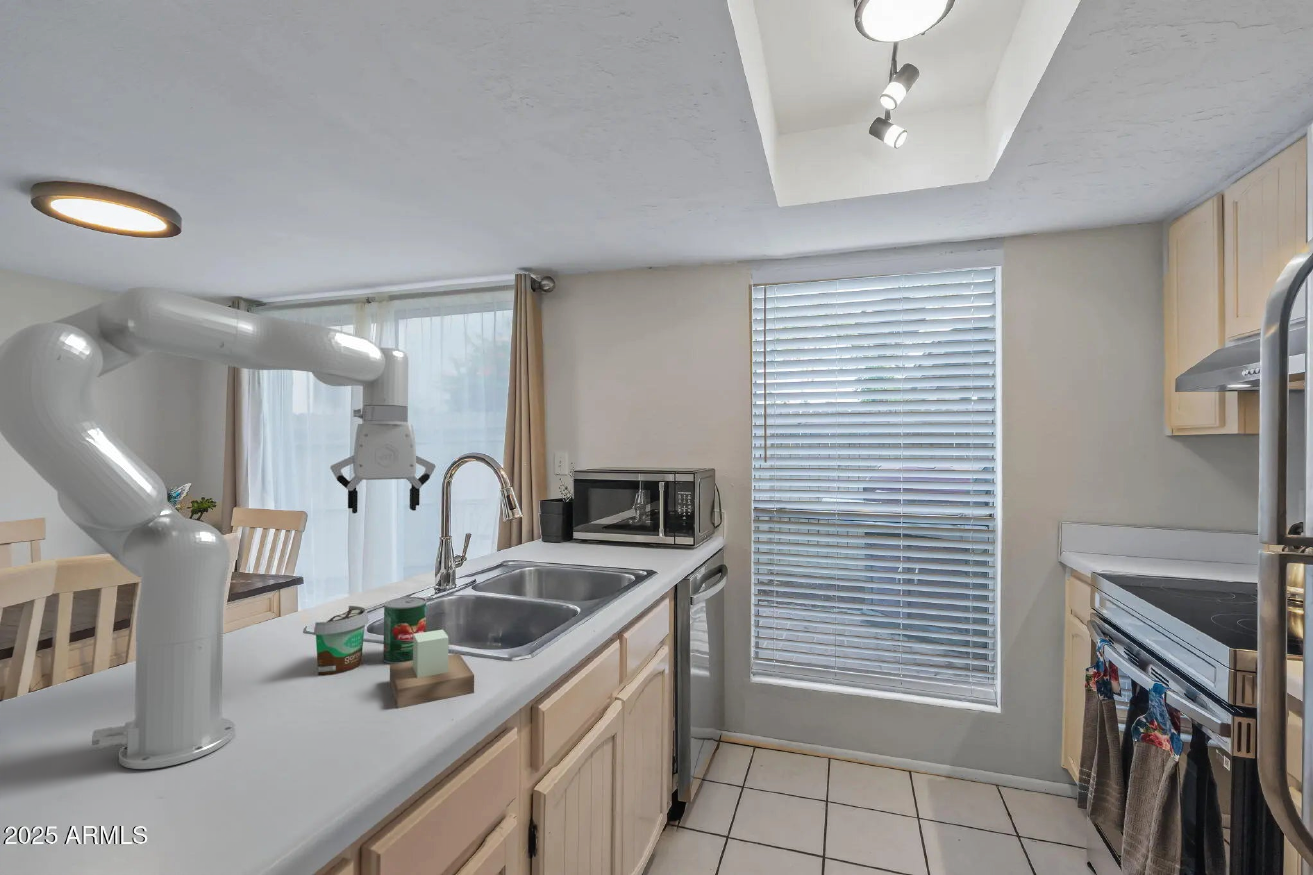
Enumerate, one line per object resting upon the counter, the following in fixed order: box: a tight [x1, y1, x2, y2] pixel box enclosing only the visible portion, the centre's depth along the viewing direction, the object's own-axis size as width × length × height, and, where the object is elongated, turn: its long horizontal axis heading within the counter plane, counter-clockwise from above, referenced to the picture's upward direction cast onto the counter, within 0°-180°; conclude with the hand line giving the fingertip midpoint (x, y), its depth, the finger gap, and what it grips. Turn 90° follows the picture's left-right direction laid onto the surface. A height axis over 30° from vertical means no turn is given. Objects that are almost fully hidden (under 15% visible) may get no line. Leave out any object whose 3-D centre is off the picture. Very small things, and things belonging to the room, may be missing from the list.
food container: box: [313, 605, 370, 677], centre depth 113 cm, size 12×6×10 cm, turn 179°
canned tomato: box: [382, 596, 427, 665], centre depth 118 cm, size 8×8×11 cm
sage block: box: [413, 629, 450, 678], centre depth 103 cm, size 5×5×6 cm
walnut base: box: [389, 653, 475, 709], centre depth 103 cm, size 12×12×3 cm
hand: (384, 511), depth 107 cm, fingers open, 9 cm apart
